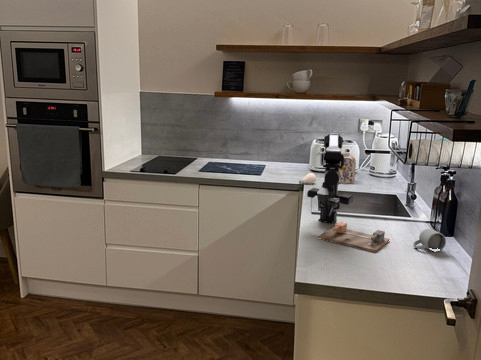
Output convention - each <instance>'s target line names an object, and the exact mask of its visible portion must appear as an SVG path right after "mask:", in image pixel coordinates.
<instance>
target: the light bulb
mask: <svg viewBox="0 0 481 360" xmlns="http://www.w3.org/2000/svg"><path fill="white" fill-rule="evenodd" d="M316 180H317V176H316V175H315V173H312V172H310V173H307V174H306V175H305V176H304V177H302V179H299V180H298V182H299V183H298V184H300V185H304V184H306V185H307V184H308V185H312V184H315V183H316Z"/></svg>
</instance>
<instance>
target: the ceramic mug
mask: <svg viewBox="0 0 481 360" xmlns="http://www.w3.org/2000/svg"><path fill="white" fill-rule="evenodd" d="M419 244H421V245H419ZM446 244H447V239H446V237H445V235H444V234H443V233H441V232H439V231H436V230H435V229H432V228H425V229H423V230H422V231H421V232H420V233H419V236H418V239H416V240H415V241H414V242H413V244H412V245H413V248H414V247H415V248H417V249H421V250H425V249H427V250H428V251H430V252H432V250H430V249H429V248H432V249H437V248H438V249H440V250H441V251H442V250H444V248H445V247H446ZM415 248H414V249H415ZM417 249H416V250H417Z"/></svg>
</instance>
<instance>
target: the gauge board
mask: <svg viewBox="0 0 481 360" xmlns="http://www.w3.org/2000/svg"><path fill="white" fill-rule="evenodd" d="M334 227H335V225H334V226H332V227H331V228H329V229H328V230H326V231H325V232H323V233H321V234H319V235H317V239H318V238H321V239H320V240H322V239H324V240H323V241H326V240H328V241H327V242H330V241H332V242H331V243H334V242H335V244H338V243H339V245H342V244H343V246H346V245H347V247H350V246H351V248H354V247H356V249H358V248H359V250H362V249H363V250H362V251H366V250H367V252H370V251H371V253H374V252H376V253H377V252H378V251H380V250H381V249H382V248H384V247H385V246H386V245H387V244H388V243H389V242H390V241H391V240H390V238H387V237H385V234H386V231H384V230H379V229H377V230H375V231H374V232H373V233H372V234H369V233H364V232H361V231H356V230H352V229H348V228H347V230H346V231H344V232H343V233H339V232H335V235H333V231H332V230H333V228H334ZM389 240H390V241H389ZM388 241H389V242H388ZM387 242H388V243H387ZM386 243H387V244H386ZM385 244H386V245H385Z"/></svg>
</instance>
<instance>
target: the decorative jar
mask: <svg viewBox="0 0 481 360" xmlns="http://www.w3.org/2000/svg"><path fill="white" fill-rule="evenodd" d="M341 153H343V155H344V166H342V169H339V184H353V185H354V183H355V179H356V168H357V166H356V165H357V160H356V158H355V156H354V155H351V154H350V152H347V151H344V152H342V151H341ZM340 166H341V162H340Z"/></svg>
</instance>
